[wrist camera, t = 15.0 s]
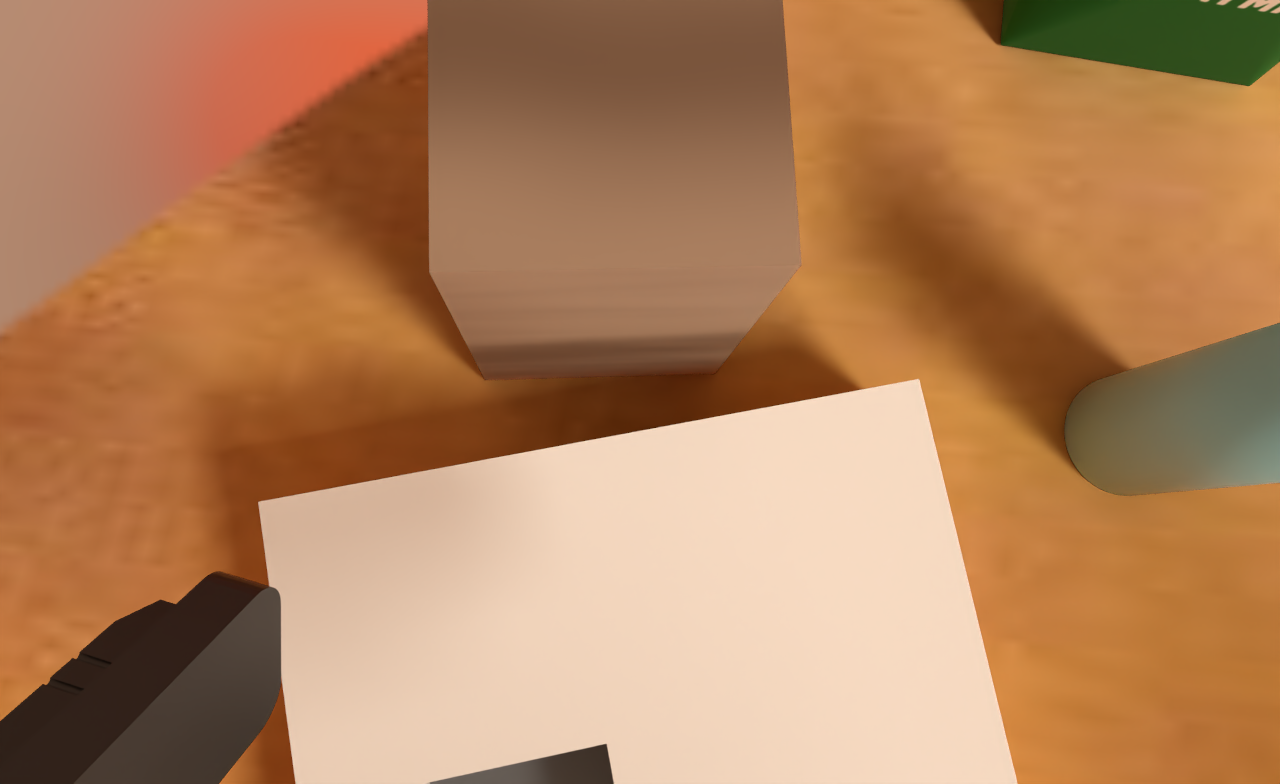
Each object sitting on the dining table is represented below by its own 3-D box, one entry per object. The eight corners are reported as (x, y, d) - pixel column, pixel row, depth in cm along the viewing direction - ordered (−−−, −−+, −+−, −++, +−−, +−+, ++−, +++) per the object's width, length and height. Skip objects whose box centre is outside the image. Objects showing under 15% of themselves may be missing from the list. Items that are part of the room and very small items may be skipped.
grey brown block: (714, 373, 23) (801, 265, 14) (485, 380, 23) (429, 271, 14) (703, 158, 24) (777, -69, 15) (481, 160, 24) (427, -71, 15)
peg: (1194, 482, 24) (1566, 445, 15) (1082, 506, 23) (1393, 483, 14) (1161, 366, 24) (1503, 263, 15) (1050, 388, 24) (1333, 296, 15)
